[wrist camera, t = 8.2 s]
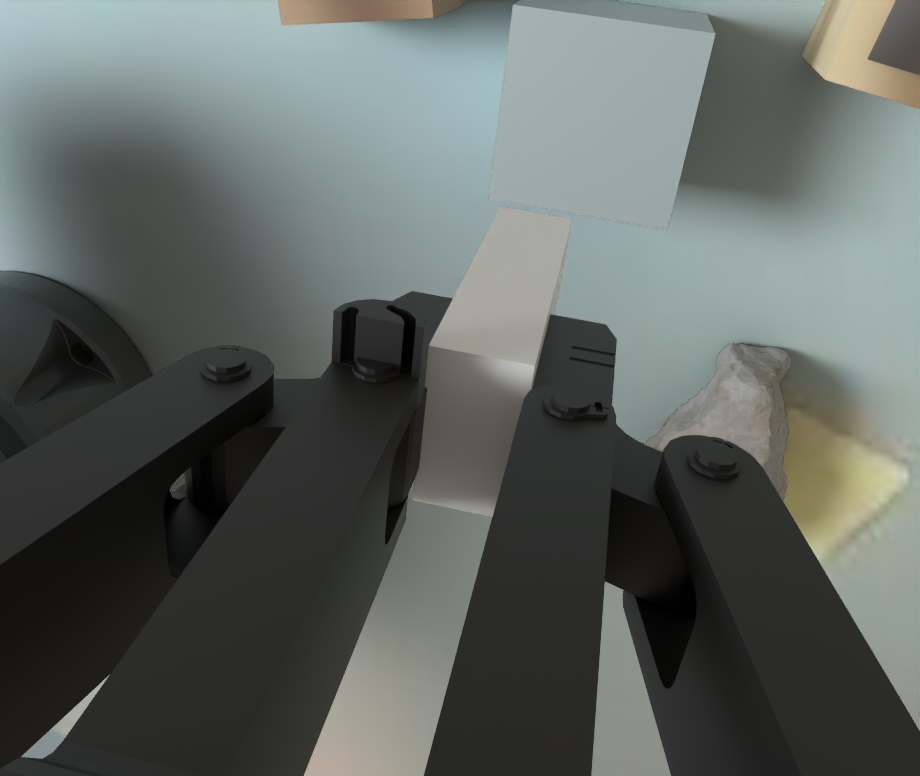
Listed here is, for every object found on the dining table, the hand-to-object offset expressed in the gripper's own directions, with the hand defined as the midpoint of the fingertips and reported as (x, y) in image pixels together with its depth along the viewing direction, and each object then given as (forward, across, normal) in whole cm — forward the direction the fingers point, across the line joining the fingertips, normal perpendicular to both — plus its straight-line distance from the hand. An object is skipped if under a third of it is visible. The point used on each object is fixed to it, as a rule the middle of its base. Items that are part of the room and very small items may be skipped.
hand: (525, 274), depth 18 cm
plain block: (+22, +1, 0) cm, 22 cm away
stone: (+22, +10, -15) cm, 29 cm away
